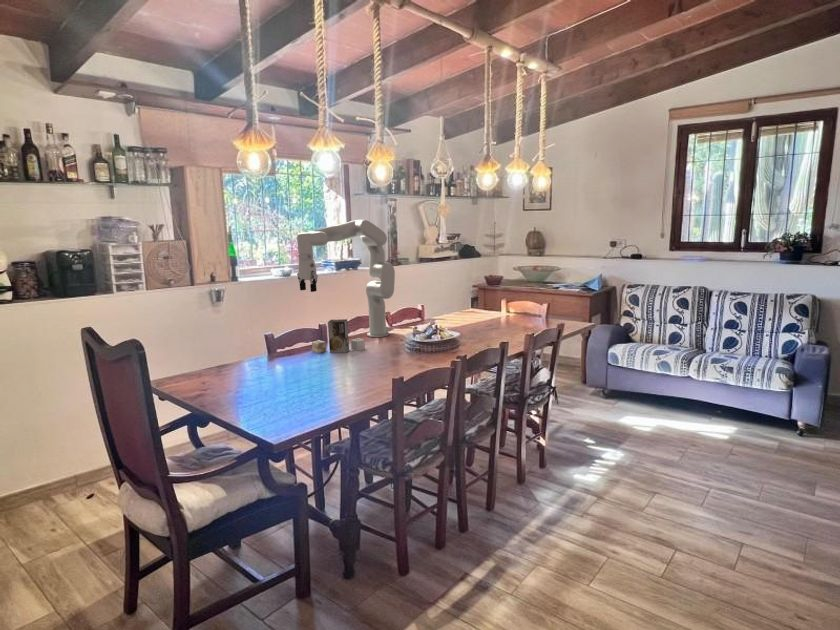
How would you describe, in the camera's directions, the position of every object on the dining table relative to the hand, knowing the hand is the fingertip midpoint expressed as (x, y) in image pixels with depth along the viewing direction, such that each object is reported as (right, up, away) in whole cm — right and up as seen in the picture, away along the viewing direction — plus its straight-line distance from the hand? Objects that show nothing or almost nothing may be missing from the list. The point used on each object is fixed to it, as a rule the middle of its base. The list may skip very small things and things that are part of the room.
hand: (308, 290), depth 274 cm
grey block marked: (+25, -30, +5) cm, 39 cm away
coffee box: (+16, -31, +2) cm, 35 cm away
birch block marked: (+5, -31, +3) cm, 32 cm away
